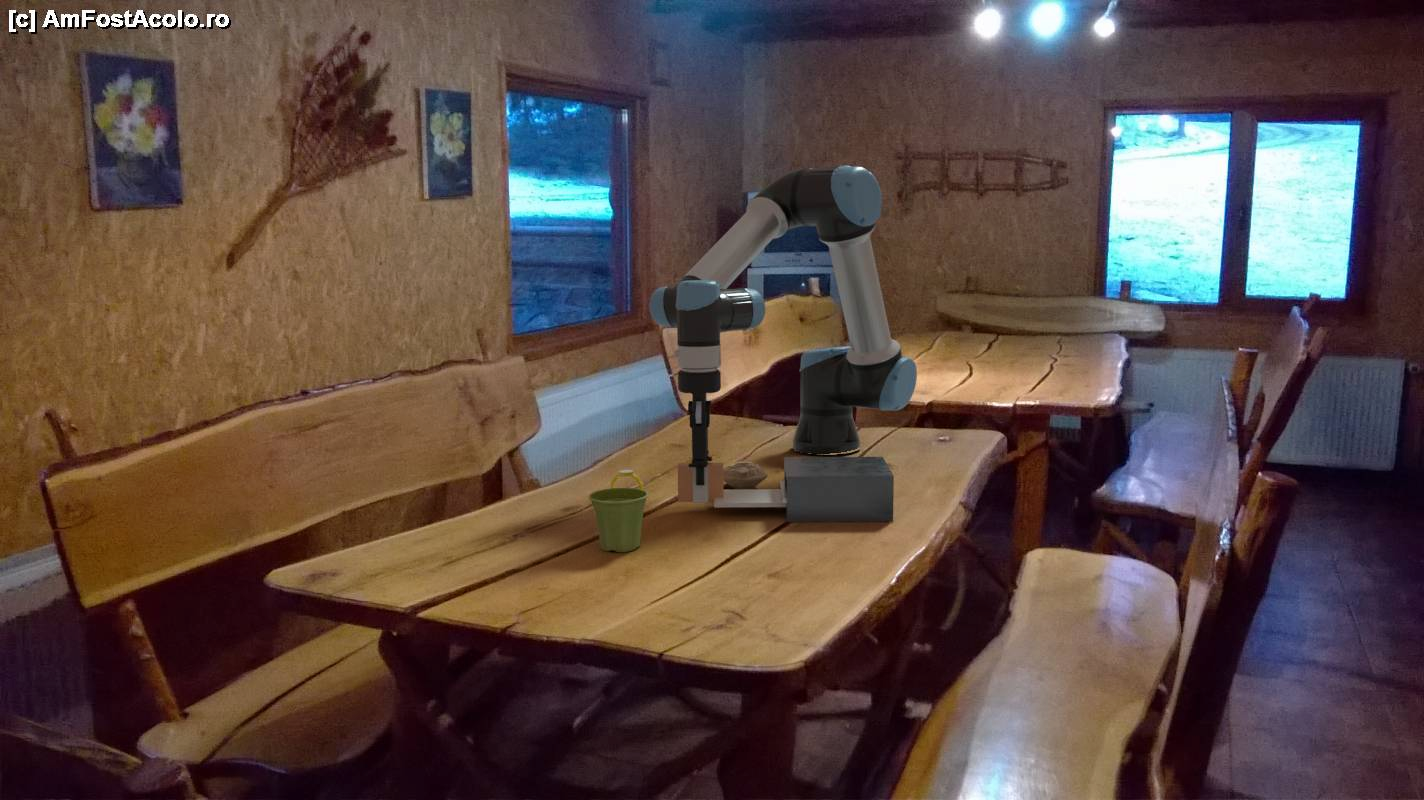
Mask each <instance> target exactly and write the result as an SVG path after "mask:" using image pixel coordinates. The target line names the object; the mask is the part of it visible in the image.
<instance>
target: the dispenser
mask: <svg viewBox="0 0 1424 800" xmlns="http://www.w3.org/2000/svg"><path fill="white" fill-rule="evenodd" d="M783 461H784V462H783V468H784V469H783V471H784V472H783V475H784V476H783V480H779V487H780V488H779V489H781V496H782V503H787V507H784V508H785V515H786V521H787V523H861V522H862V523H885V522H884V521H893V522H894V496H895V495H894V491H895V490H894V487H895V486H894V484H895V483H894V482H895V480H894V478H895V476H894V474H893V472H892V471H891V468H890V467H889V466H888V465H889V464H887V462H886V460H885V459H884V457H883V456H817V457H816V456H814V457H813V456H812V457H811V456H801V457H800V456H798V457H797V456H795V457H794V456H792V457H786V456H785V457H783ZM786 489H787V494H786ZM880 521H881V522H880Z"/></svg>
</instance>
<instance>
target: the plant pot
mask: <svg viewBox="0 0 1424 800" xmlns="http://www.w3.org/2000/svg"><path fill="white" fill-rule="evenodd" d="M648 498H649V491H646V490H642V489H639V488H636V487H615V488H611V487H610V488H604V489H600V490H599V489H598V490H596V491H592V492H591V493H590V494H588V499H589V501H590V502H591V505H592V508H593V509H594V513H595V519H596V523H597V524H596V526H597V531H598V536H599V542H600V547H601V549H602V550H604V551H605V552H611V551H614V552H617V553H625V552H632V551H635V550H636V549H637V548H639V547H640V546H641V538H642V525H643V518H644V507H645V506H646V501H647V499H648Z"/></svg>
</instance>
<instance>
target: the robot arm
mask: <svg viewBox="0 0 1424 800" xmlns="http://www.w3.org/2000/svg"><path fill="white" fill-rule="evenodd" d="M881 205H883V196H882V191H881V187H880V185H879V182H878V180H877V178H876V177H875V175H874V174H873V173H872V172H871V171H870V170H867V169H866V168H865V167H862V166H850V165H840V166H839V165H838V166H827V167H825V166H824V167H814V168H813V167H811V168H809V167H806V168H804V167H803V168H798V169H794V170H791V171H790V172H787V173H784V174H783V175H781V176H779V177H777V178H776V179H774V180H773V181H772V182H770V183H769V184H767V185H766V186H765V187H764V188H762V189H761V190H760V191H759V192H758V193H757V194H756V195H754V197H753V198H752V199H751V200H750V201H749V202H748V204H747V206H746V212H745V213H743V215H742V216H741V217H740V218H739V219H738V220H737V221H736V222H735V223H734V224H733V226H732V227H730V228H729V230H727V232H726V233H724V234H723V235H722V237H721V238H719V240H718V241H717V242H716V243H715V244H714V245H713V246H712V247H711V248H710V249H709V250H708V251H707V252H705V254H704V255H703V256H702V257H701V259H699V261H697V262H696V263H695V265H693V266H692V268H690V270H689V271H687V272H686V273H685V275H684V276H683V277H682V278H681V279H679V281H678V282H677V283H675V285H674V286H670V285H666V286H663V287H662V286H661V287H659V288H657V289H655V290H654V291H653V292H652V295H651V296H650V299H649V308H648V309H649V314H650V315H651V318H652V320H653V321H654V322H655V323H656V324H657V325H659V326H661V327H668V328H670V327H671V328H673V329H676V330H677V332H676V333H677V334H676V335H677V337H676V338H677V341H676V343H677V350H674V351H673V355H674V356H675V357H677V356H678V357H677V367H678V368H680V370H679V371H678V372H677V390H678V392H680V393H682V394H691V395H692V398H691V399H692V400H689V401H688V404H687V412H688V415H689V427H690V428H691V454H692V459H691V462H688V463H689V467H692V470H693V502H692V503H693V504H704V503H705V504H708V503H709V502H708V466H707V465H708V463H710V462H712V461H713V457H712V456H709V453H710V451H709V430H708V429H709V427H710V423H711V411H712V410H711V409H712V401H711V400H707V399H708V398H707V394H714V393H718V392H719V391H720V390H721V388H722V387H721V384H722V383H721V382H722V380H721V377H722V375H721V374H722V373H721V371H720V370H719V369H718V368H720V367H721V365H722V364H721V363H722V358H721V357H722V356H721V354H722V352H721V350H722V349H721V347H722V346H721V333H726V332H735V331H736V332H738V331H743V332H744V331H747V330H750V329H754V328H756V327H758V326H759V325H761V323H762V322H763V320H764V318H765V316H766V303H765V300H764V298H763V296H762V295H761V293H760V292H759V291H758V290H756V289H754V288H746V287H738V288H728V287H729V286H730V285H732V283H733V282H734V281H735V280H736V279H737V278H738V276H739V275H741V274H742V273H743V271H745V269H746V268H747V267H748V266H749V265H750V264H751V263H752V261H754V259H756V257H758V255H759V254H760V253H762V251H763V250H764V249H765V248H766V247H767V246H768V245H769V243H770V242H771V241H772V240H774V239H778V238H781V237H782V236H784V235H785V234H786V233H787V232H788V231H789V230H791V229H793V228H799V227H816V232H817V235H818V236H817V237H818V239H819V241H820V242H821V243H823V244H824V245H827V246H828V249H829V250H828V251H829V254H830V259H831V263H832V267H833V271H834V277H835V280H836V286H837V290H838V295H839V299H840V303H841V309H842V311H843V316H844V319H845V320H844V321H845V325H846V329H847V334H848V339H849V343H850V345H849V346H848V345H846V346H833V347H825V348H818V349H816V348H815V349H810V350H806V351H805V352H803V353H802V355H801V357H800V367H799V373H800V374H799V376H800V379H799V381H800V385H799V386H800V387H799V389H800V414H799V415H800V416H799V420H798V423H797V427H796V429H795V432H794V436H793V438H792V450H793V449H794V450H796V451H798V452H797V453H799V452H802V453H801V454H803V453H811V454H830V453H841V452H847V451H851V450H855V449H857V448H858V447H860V448H861V438H860V435H859V433H858V429H857V426H856V423H855V421H854V417H853V416H854V415H853V407H855V408H863V409H872V410H873V409H874V410H880V411H882V412H885V411H893V412H894V411H899V410H902V409H904V408H905V407H906V406H907V405H908V403H909V402H910V400H911V399H912V397H913V394H914V392H915V388H916V385H917V380H918V379H917V377H918V375H917V374H918V372H917V370H918V369H917V365H916V362H915V361H914V359H912V358H910V357H909V356H906V355H905V356H903V353H902V349H901V345H900V342H898V341H897V340H896V339H893V338H892V336H891V331H890V328H889V326H890V325H889V323H888V318H887V313H886V312H887V311H886V308H885V303H884V302H885V301H884V297H883V293H882V288H881V284H880V279H879V274H878V268H877V264H876V260H875V255H874V249H873V246H872V240H871V237H870V236H871V235H872V233H873V232H874V230H875V229H876V222H877V221H878V219H879V218H880V216H881V213H882V207H881ZM794 450H793V451H794ZM796 451H795V452H796Z"/></svg>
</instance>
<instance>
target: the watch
mask: <svg viewBox="0 0 1424 800" xmlns="http://www.w3.org/2000/svg"><path fill="white" fill-rule="evenodd" d="M619 477H632V478H633V479H635V481H636V482H637V484H638V487H639V488H638V489H642V490H644V483H643V480H642V479H641V477H640V476H639V475H638V474H636V473H635V471H634V470H633V469H622V470H619V471H618V474H617V475H615V476H614V477H613V479H612V480H611V483H610V488H616V485H615V484H616V481H617V480H618V478H619Z"/></svg>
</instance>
